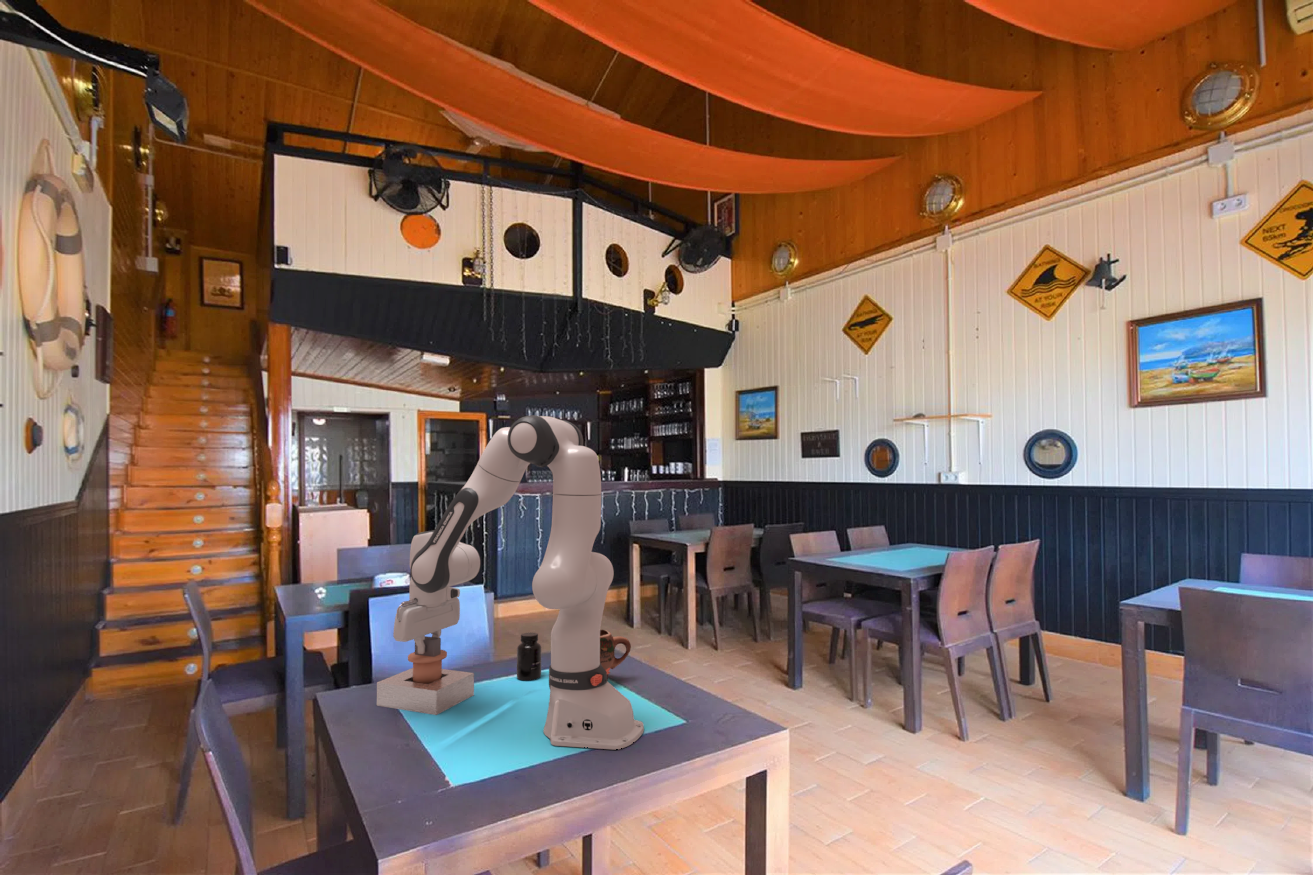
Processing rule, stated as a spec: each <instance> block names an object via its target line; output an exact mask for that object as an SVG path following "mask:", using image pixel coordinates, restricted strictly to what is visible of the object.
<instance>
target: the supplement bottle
mask: <svg viewBox="0 0 1313 875" xmlns="http://www.w3.org/2000/svg"><path fill="white" fill-rule="evenodd" d="M538 641H539V633H537V632H523V633H521V634H520V643H519V644H518V645H517V648H516V678H517V679H518V680H521V681H534V679H535V680H538V679H540V678H541V676H542V645H541V643H539V642H538ZM537 678H538V679H537Z"/></svg>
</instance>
